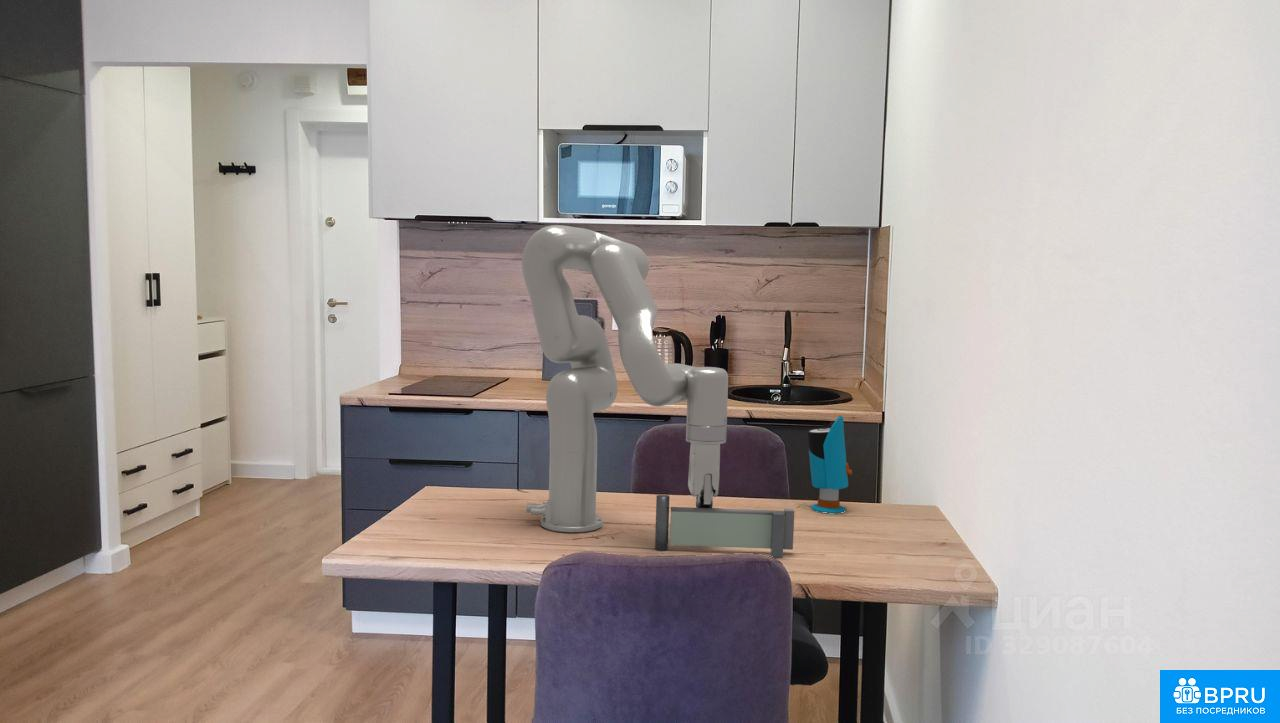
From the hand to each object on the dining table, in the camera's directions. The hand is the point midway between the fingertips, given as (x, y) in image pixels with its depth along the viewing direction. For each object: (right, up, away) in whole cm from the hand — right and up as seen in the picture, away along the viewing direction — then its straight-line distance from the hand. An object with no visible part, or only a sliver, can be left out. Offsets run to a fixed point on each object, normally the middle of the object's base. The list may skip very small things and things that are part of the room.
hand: (703, 529), depth 174 cm
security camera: (+30, -2, +32) cm, 43 cm away
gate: (+5, -2, -3) cm, 6 cm away
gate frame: (+2, -3, -4) cm, 6 cm away
